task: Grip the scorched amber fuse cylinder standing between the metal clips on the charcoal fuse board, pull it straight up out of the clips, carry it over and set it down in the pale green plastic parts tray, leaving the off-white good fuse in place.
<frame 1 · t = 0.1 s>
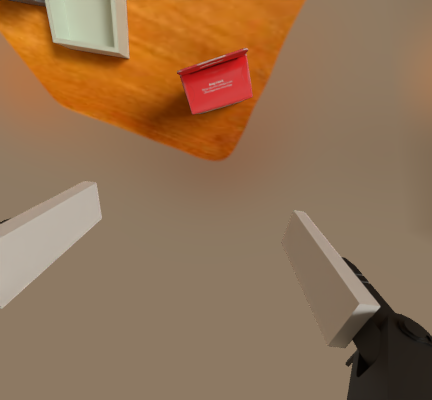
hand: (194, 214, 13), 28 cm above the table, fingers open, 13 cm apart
ink box: (218, 93, 34), on the table
parts tray: (94, 6, 29), on the table
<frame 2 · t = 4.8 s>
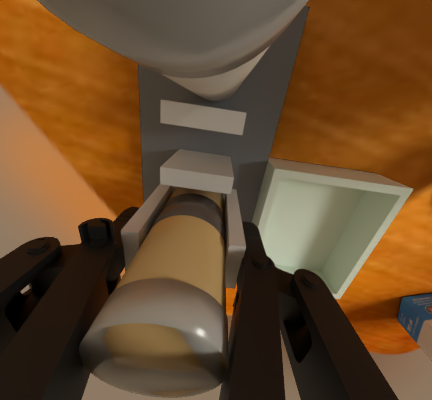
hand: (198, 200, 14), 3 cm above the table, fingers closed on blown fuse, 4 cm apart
good fuse: (214, 66, 12), point 1 cm above the table, touching fuse board
parts tray: (297, 222, 19), on the table
fuse board: (208, 135, 15), on the table
blown fuse: (200, 192, 16), point 1 cm above the table, touching fuse board, gripper
when the fingers open (5 cm above the table, at t = 11.6 s): blown fuse drops 2 cm, resting on parts tray.
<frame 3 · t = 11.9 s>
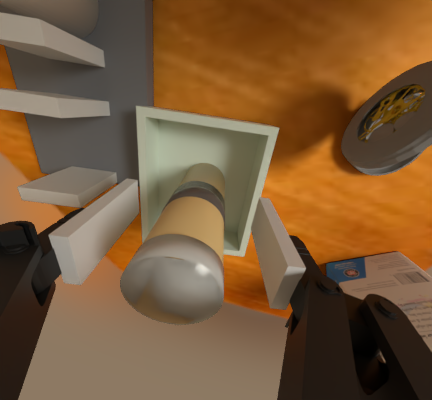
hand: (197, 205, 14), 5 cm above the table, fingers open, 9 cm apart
ink box: (359, 268, 23), on the table
parts tray: (203, 180, 19), on the table
pocket watch: (371, 128, 16), on the table
fuse board: (92, 83, 15), on the table
blown fuse: (204, 182, 18), point 1 cm above the table, touching parts tray
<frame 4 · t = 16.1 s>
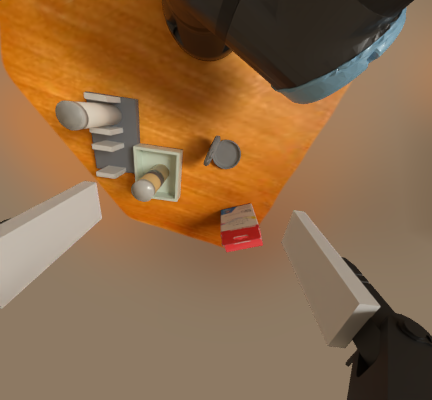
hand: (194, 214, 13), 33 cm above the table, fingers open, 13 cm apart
ink box: (237, 213, 50), on the table
good fuse: (112, 114, 39), point 1 cm above the table, touching fuse board
parts tray: (161, 171, 45), on the table
pocket watch: (222, 151, 43), on the table
fuse board: (117, 135, 42), on the table
blown fuse: (161, 172, 45), point 1 cm above the table, touching parts tray
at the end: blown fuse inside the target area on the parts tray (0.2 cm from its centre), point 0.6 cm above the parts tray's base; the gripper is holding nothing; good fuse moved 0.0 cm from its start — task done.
